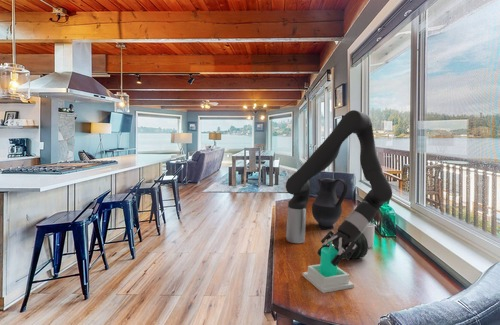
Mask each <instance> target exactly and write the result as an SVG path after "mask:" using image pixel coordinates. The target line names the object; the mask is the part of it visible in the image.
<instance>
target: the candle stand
mask: <svg viewBox="0 0 500 325" xmlns="http://www.w3.org/2000/svg"><path fill="white" fill-rule="evenodd" d="M302 276H303V277H304V278H305V279H306V280H307V281H308V283H311V284H312V285H313V286H314V287H315V288H316V289H317V290H318V291H319V292H321V293H322V294H326V293H331V292H335V291H337V292H338V291H342V290H348V289H353V288H355V284H354V283H353V282H352V281H351V280H350V274H349V273H348V272H346V271H345V270H343V269H342V268H340V267H339V266H337V275H336V276H329V277H324V276H323V275H322V274H320V263H319V264H312V265H311V264H310V265H308V266H307V271H304V272H302Z"/></svg>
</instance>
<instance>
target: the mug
mask: <svg viewBox="0 0 500 325" xmlns="http://www.w3.org/2000/svg"><path fill="white" fill-rule="evenodd" d="M375 228H376V225H375V224H374V223H373V222H370V223H369V224H368V226H367V227H366V229H365V230H364V231H363V234H364V235H365V237H366V239H367V242H368V249H371V248H373V246H374V241H375ZM370 247H371V248H370Z"/></svg>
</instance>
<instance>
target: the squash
mask: <svg viewBox="0 0 500 325" xmlns="http://www.w3.org/2000/svg"><path fill="white" fill-rule="evenodd" d="M354 243H355V244H356V246H357V249H356V250H355V252H354V253H353V254H352V256H351V257H350V259H361V258H364V257H366V255H367V253H368V251H369V248H368V242H367V239H366V237H365V235H364V234H363V233H362V234H361V235H360V236H359V237H358V239H357V240H356V241H355V242H354ZM333 248H335V249H336V250H337V251H338V252H339V249H338V248H336V247H333ZM347 248H348V247H347ZM348 254H349V252H348ZM348 254H347V255H348ZM338 255H339V254H338Z"/></svg>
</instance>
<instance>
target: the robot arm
mask: <svg viewBox="0 0 500 325" xmlns="http://www.w3.org/2000/svg"><path fill="white" fill-rule="evenodd" d="M372 123H373V122H372V119H371V117H370V116H369V115H368V114H367V113H364V112H362V111H359V110H356V109H355V110H354V109H353V110H350V111H347V112H346V113H345V114H344V115H343V117H342V118H341V119H340V121H339V122H338V124H337V125H336V126H335V127H334V129H333V130H332V131H331V133H330V134H329V135H328V136H327V137H326V138H325V140H323V142H322V143H321V144H320V145H319V146H318V147H317V148H316V149H315V150H314V152H312V154H311V155H310V156H309V158H307V160H306V161H305V162H304V163H303V164H302V165H301V166H300V168H299V169H297V170H296V171H295V172H294V173H293V174H292V175H291V176H290V177H289V178H288V179H287V180H286V183H285V190H286V191H287V192H286V193H288V194H290V195H293V196H292V197H291V199H290V200H288V203H287V220H286V230H285V231H286V233H285V237H286V241H287V242H289V243H292V244H302V243H305V241H306V240H305V239H306V238H305V237H306V223H307V205H308V203H309V199H310V191H311V190H310V189H311V183H310V180H311V179H312V178H313V177H314V176H317V175H319V174H320V173H321V172H323V171H325V170H326V169H327V168H328V167H330V165H331V164H332V163H334V161H335V160H336V159H337V157H338V156H339V153H340V149H341V146H342V145H343V143H344V142H345V141H346V140H347V138H349V137H350V135H352V134H354V135H356V137H357V138H358V141H359V144H360V153H359V154H360V155H359V156H360V157H359V160H360V161H359V162H360V166H361V171H362V174H363V176H364V178H365V180H366V181H367V182H369V184H370V187H371V189H370V190H368V192H367V193H366V194H365V197H364V198H363V199H362V201H361V202H360V203H359V204H358V205H357V206H356V207H355V208H354V210H352V212H350V213H349V214H348V215H347V217H346V218H344V220H343V221H342V223H340V225H339V226H338V227H337V232H336V233H334V232H333V231H332V230H329V231H328V232H327V233H326V234H325V236H324V237H322V239H321V240H320V243H321V247H319V249H318V250H317V252H316V253H317V255H318V256H319V257H321V249H322V248H323V247H333V248H334V247H336V248H338V249H339V252H338V254H339V255H338V254H337V255H336V256H335V257H334V259H333V260H332V261H331V263H332V264H333V265H334V266H336V265H337V266H338V265H339V264H340V263H341V262H342V260H346V261H347V260H350V259H351V256H352V254H353V253H354V252H355V250H356V249H357V246H356V244H355V243H354V242H355V241H356V240H357V239H358V237H359V236H360V235H361V234H362V233H363V231H364V230H365V229H366V227H367V226H368V224H369V223H372V221H373V219H374V218H375V217H376V215H377V212H378V211H379V210H380V209H381V207H382V206H383V205H385V203H387V202H389V201H390V200H391V199H392V196H393V191H392V190H393V189H392V186H391V184H390V182H389V180H388V179H387V177H386V176H385V174H384V172H383V168H382V164H381V161H380V158H379V156H378V152H377V148H376V141H375V137H374V136H375V135H374V128H373V124H372ZM347 247H348V248H347ZM348 252H349V254H348ZM347 254H348V255H347Z"/></svg>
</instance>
